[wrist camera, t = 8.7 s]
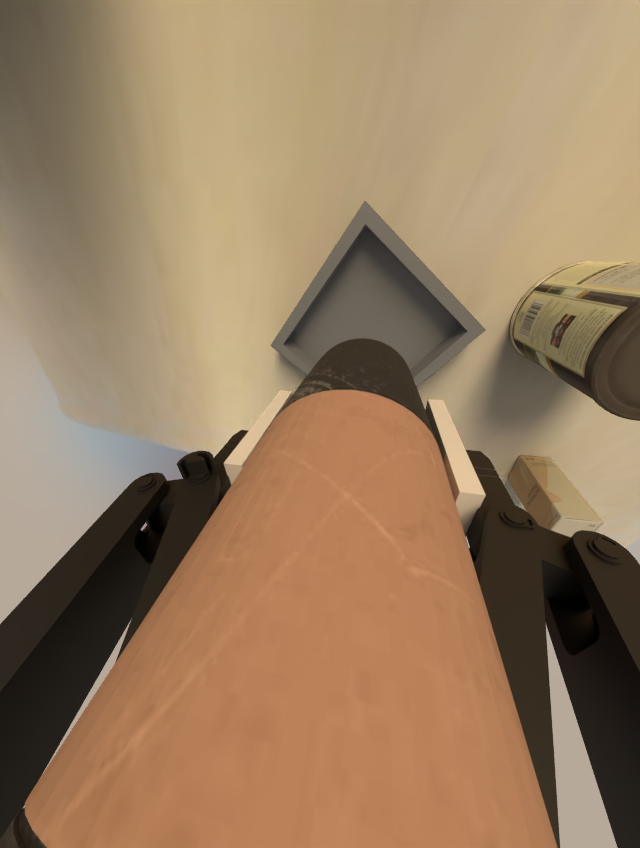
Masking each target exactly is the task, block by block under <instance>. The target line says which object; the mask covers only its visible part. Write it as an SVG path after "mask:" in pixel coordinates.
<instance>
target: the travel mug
mask: <svg viewBox="0 0 640 848" xmlns="http://www.w3.org/2000/svg"><path fill="white" fill-rule="evenodd" d="M0 848H557V844H556V841H555V837H554V834H553V831H552V827H551V824H550V821H549V817H548V814H547V810H546V807H545V804H544V800H543V797H542V794H541V790H540V787H539V783H538V780H537V777H536V773H535V770H534V767H533V763H532V760H531V756H530V753H529V750H528V746H527V743H526V740H525V736H524V733H523V730H522V726H521V723H520V719H519V716H518V713H517V709H516V706H515V703H514V699H513V696H512V692H511V689H510V686H509V682H508V679H507V676H506V672H505V669H504V665H503V662H502V659H501V655H500V652H499V649H498V645H497V642H496V638H495V635H494V632H493V628H492V625H491V622H490V618H489V615H488V611H487V608H486V605H485V601H484V598H483V595H482V591H481V588H480V585H479V581H478V578H477V574H476V571H475V568H474V564H473V561H472V558H471V554H470V551H469V547H468V544H467V541H466V537H465V534H464V531H463V527H462V524H461V520H460V517H459V514H458V510H457V507H456V504H455V500H454V497H453V493H452V490H451V487H450V483H449V480H448V477H447V473H446V470H445V466H444V463H443V460H442V456H441V453H440V450H439V447H438V444H437V441H436V438H435V436H434V433H433V430H432V428H431V425H430V422H429V420H428V417H427V414H426V411H425V409H424V406H423V403H422V401H421V398H420V395H419V393H418V390H417V387H416V385H415V382H414V379H413V377H412V374H411V372H410V369H409V367H408V365H407V363H406V362H405V360H404V359H403V357H402V356H401V355H400V354H399V353H398V352H397V351H396V350H395V349H393V348H392V347H391V346H389V345H387V344H385V343H383V342H380V341H377V340H373V339H366V338H357V339H351V340H347V341H344V342H341V343H339V344H337V345H335V346H334V347H332V348H331V349H330V350H328V351H327V352H326V353H325V354H324V355H323V356H322V357H321V358H320V360H319V361H318V362H317V363H316V365H315V366H314V367H313V369H312V370H311V371H310V373H309V374H308V375H307V377H306V378H305V379H304V381H303V382H302V383H301V385H300V386H299V387H298V389H297V390H296V391H295V393H294V394H293V395H292V396H291V398H290V399H289V400H288V402H287V403H286V404H285V406H284V407H283V408H282V410H281V411H280V412H279V414H278V415H277V417H276V418H275V419H274V421H273V422H272V424H271V426H270V427H269V429H268V430H267V432H266V433H265V435H264V436H263V438H262V439H261V441H260V442H259V444H258V445H257V447H256V449H255V450H254V452H253V453H252V455H251V456H250V458H249V459H248V461H247V462H246V464H245V465H244V467H243V468H242V470H241V471H240V473H239V475H238V476H237V478H236V479H235V481H234V482H233V484H232V485H231V487H230V488H229V490H228V491H227V493H226V494H225V496H224V498H223V499H222V501H221V502H220V504H219V505H218V507H217V508H216V510H215V511H214V513H213V514H212V516H211V517H210V519H209V520H208V522H207V524H206V525H205V527H204V528H203V530H202V531H201V533H200V534H199V536H198V537H197V539H196V540H195V542H194V543H193V545H192V547H191V548H190V550H189V551H188V553H187V554H186V556H185V557H184V559H183V560H182V562H181V563H180V565H179V566H178V568H177V569H176V571H175V573H174V574H173V576H172V577H171V579H170V580H169V582H168V583H167V585H166V586H165V588H164V589H163V591H162V592H161V594H160V596H159V597H158V599H157V600H156V602H155V603H154V605H153V606H152V608H151V609H150V611H149V612H148V614H147V615H146V617H145V618H144V620H143V622H142V623H141V625H140V626H139V628H138V629H137V631H136V632H135V634H134V635H133V637H132V638H131V640H130V641H129V643H128V645H127V646H126V648H125V649H124V651H123V652H122V654H121V655H120V657H119V658H118V660H117V661H116V663H115V665H114V666H113V668H112V669H111V671H110V672H109V674H108V675H107V677H106V678H105V680H104V681H103V683H102V684H101V686H100V687H99V689H98V690H97V692H96V694H95V695H94V697H93V698H92V700H91V701H90V703H89V704H88V706H87V707H86V709H85V710H84V712H83V713H82V715H81V717H80V718H79V720H78V721H77V723H76V724H75V726H74V727H73V729H72V731H71V732H70V734H69V735H68V736H67V738H66V740H65V741H64V743H63V744H62V746H61V747H60V749H59V750H58V752H57V753H56V755H55V756H54V758H53V760H52V761H51V762H50V764H49V766H48V767H47V769H46V770H45V772H44V773H43V775H42V776H41V778H40V779H39V781H38V782H37V784H36V785H35V787H34V788H33V790H32V792H31V793H30V795H29V797H28V798H27V800H26V802H25V808H23V809H22V810H20V811H19V812H18V813H17V815H16V816H15V818H14V819H13V821H12V822H11V824H10V825H9V827H8V828H7V830H6V831H5V833H4V834H3V836H2V837H1V839H0Z"/></svg>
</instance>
